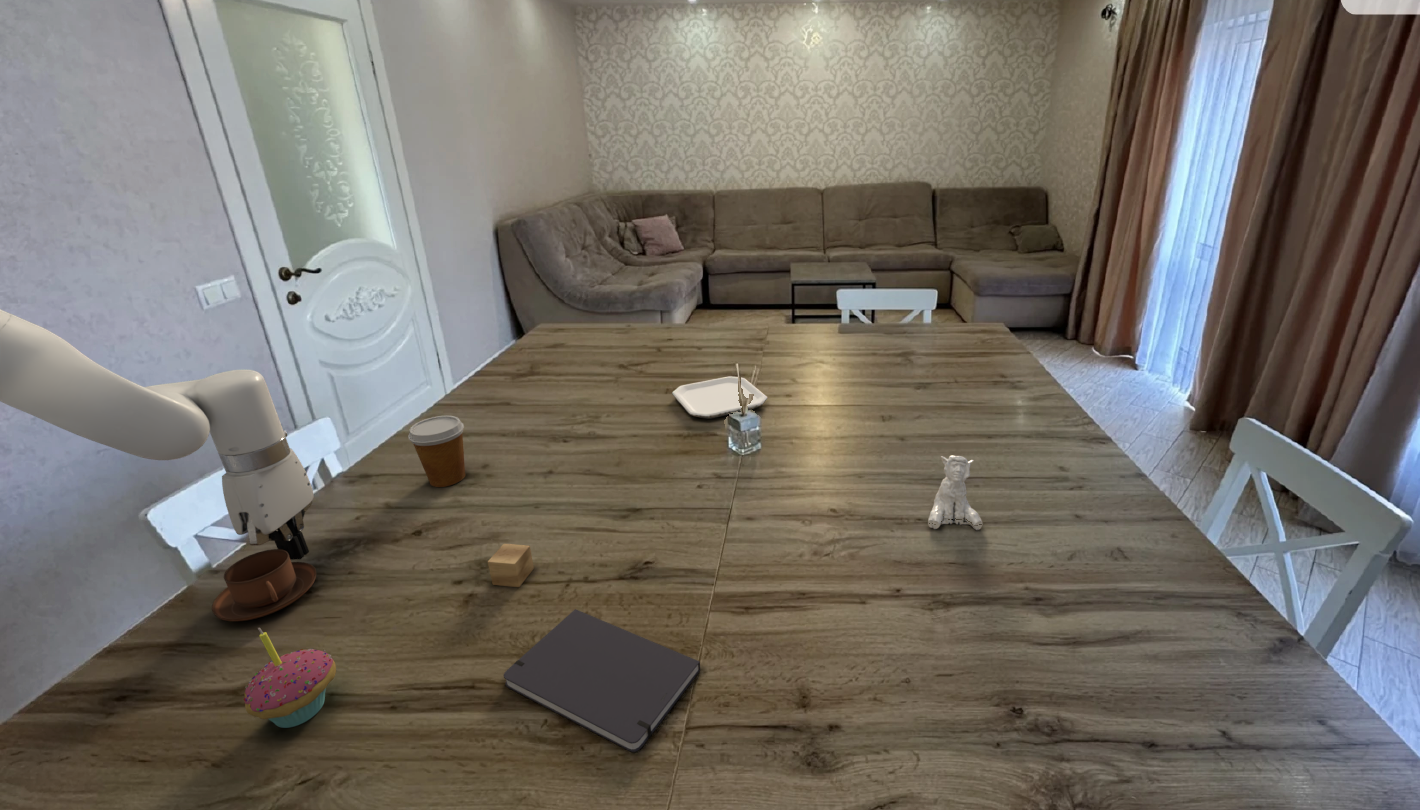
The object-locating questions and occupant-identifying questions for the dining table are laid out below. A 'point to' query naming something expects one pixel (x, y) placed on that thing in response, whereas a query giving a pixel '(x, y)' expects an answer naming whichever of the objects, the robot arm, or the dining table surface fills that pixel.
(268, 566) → the cup and saucer
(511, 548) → the beech block
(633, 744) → the notebook
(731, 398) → the plate
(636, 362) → the dining table surface
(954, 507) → the seated beast figurine
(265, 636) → the cupcake
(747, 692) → the dining table surface
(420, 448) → the disposable coffee cup
